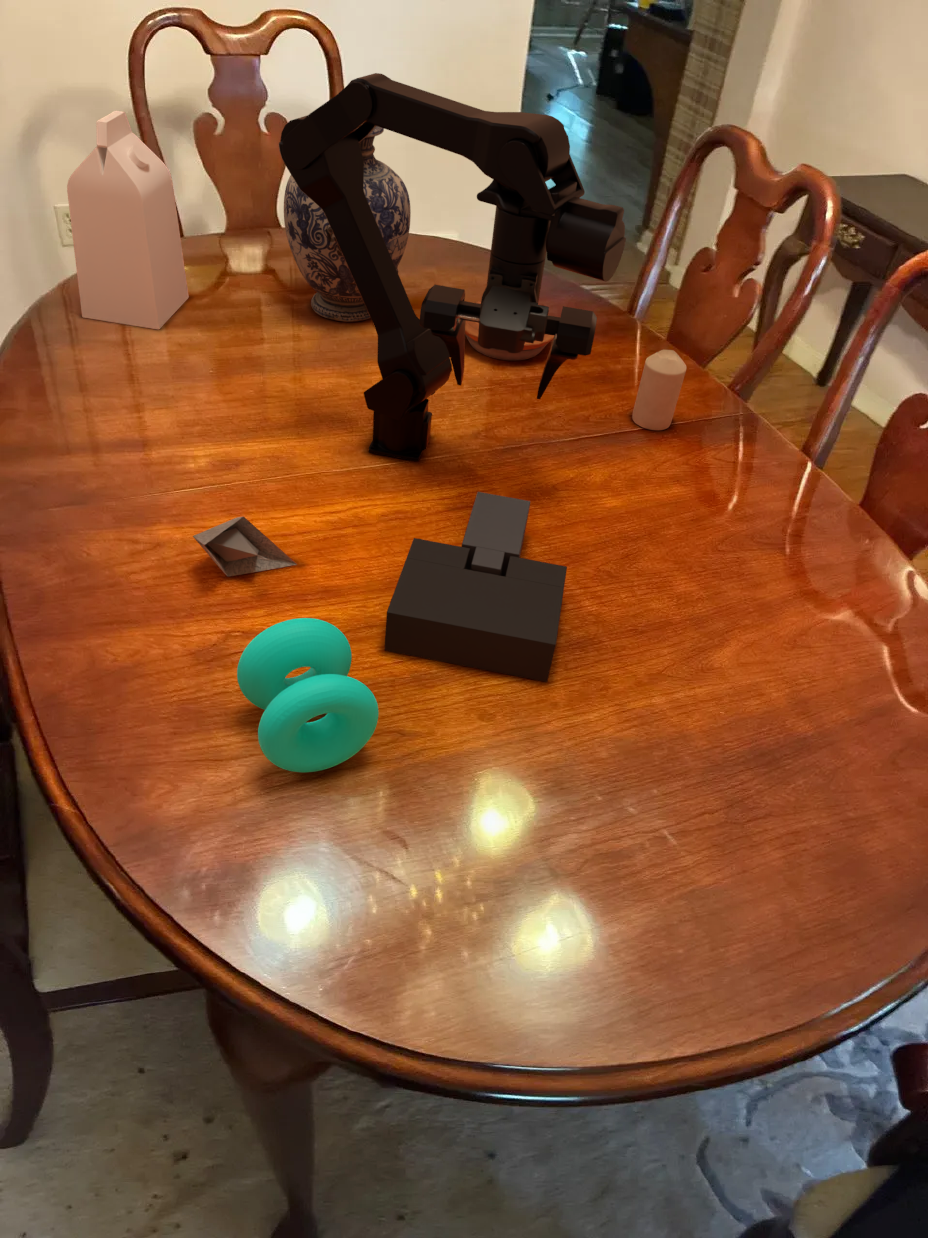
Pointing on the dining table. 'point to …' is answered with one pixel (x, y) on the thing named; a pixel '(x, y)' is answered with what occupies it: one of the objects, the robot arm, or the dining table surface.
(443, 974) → the dining table surface
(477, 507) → the tongue pad
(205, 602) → the dining table surface
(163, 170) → the milk
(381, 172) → the decorative vase
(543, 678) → the notch pad
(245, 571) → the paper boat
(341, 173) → the robot arm
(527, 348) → the pie
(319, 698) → the donuts
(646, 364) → the candle
